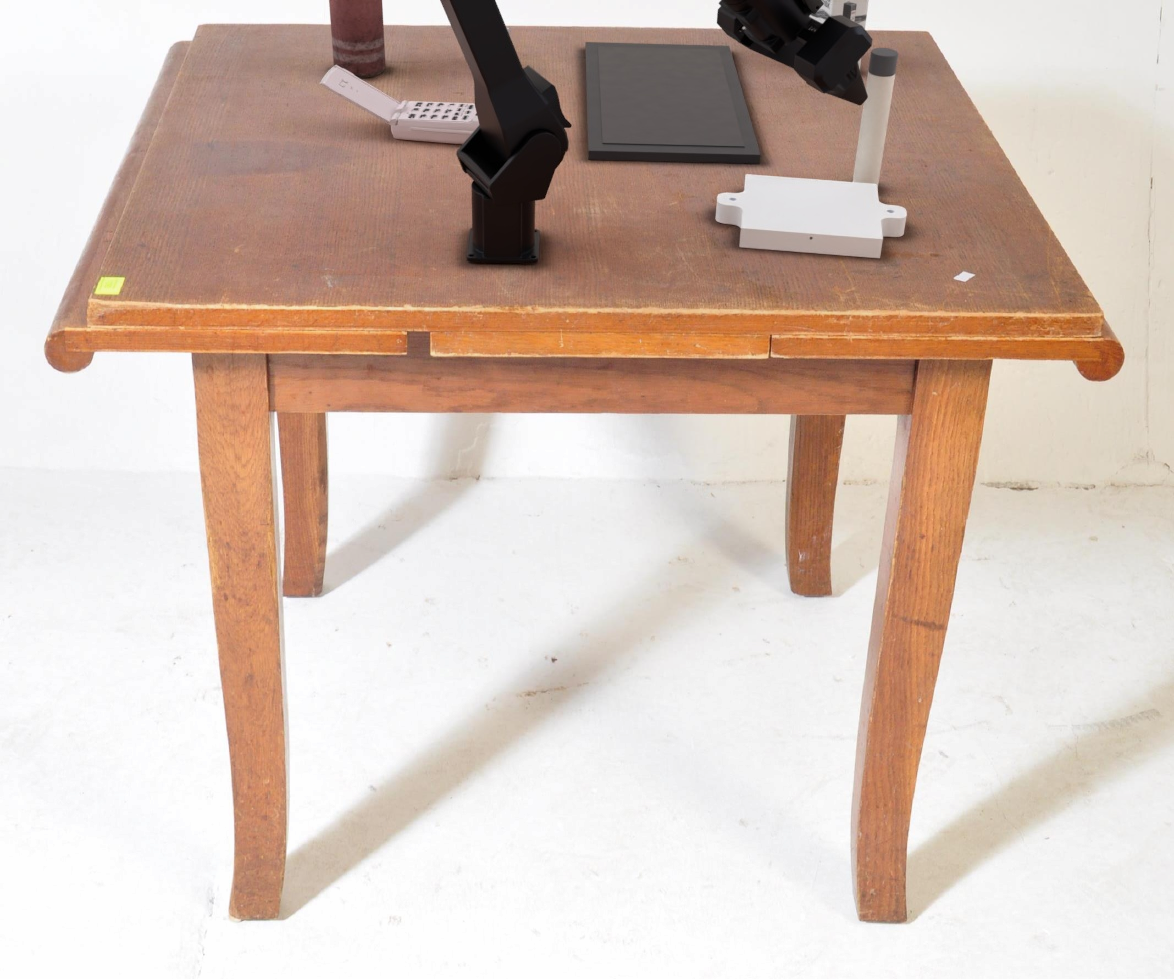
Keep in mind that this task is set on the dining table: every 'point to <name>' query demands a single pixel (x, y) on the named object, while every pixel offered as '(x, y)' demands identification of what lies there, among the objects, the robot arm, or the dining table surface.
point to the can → (358, 36)
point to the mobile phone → (406, 111)
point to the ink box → (843, 11)
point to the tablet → (666, 104)
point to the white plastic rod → (875, 115)
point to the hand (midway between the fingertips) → (836, 85)
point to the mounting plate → (811, 216)
